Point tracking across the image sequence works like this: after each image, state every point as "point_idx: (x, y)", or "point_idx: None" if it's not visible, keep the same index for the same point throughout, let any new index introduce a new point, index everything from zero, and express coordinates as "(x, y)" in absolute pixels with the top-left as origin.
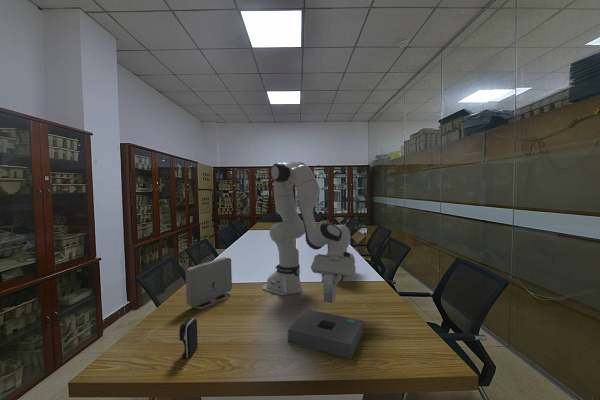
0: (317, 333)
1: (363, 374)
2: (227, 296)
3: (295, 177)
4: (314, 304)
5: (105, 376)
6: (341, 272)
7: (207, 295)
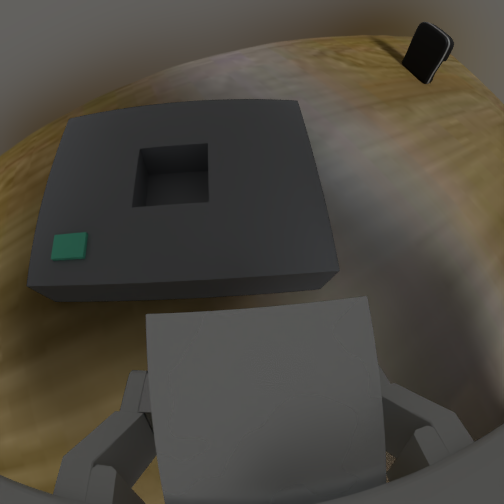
0: (185, 113)
1: (60, 123)
2: None
3: None
4: None
5: None
6: (16, 495)
7: None
